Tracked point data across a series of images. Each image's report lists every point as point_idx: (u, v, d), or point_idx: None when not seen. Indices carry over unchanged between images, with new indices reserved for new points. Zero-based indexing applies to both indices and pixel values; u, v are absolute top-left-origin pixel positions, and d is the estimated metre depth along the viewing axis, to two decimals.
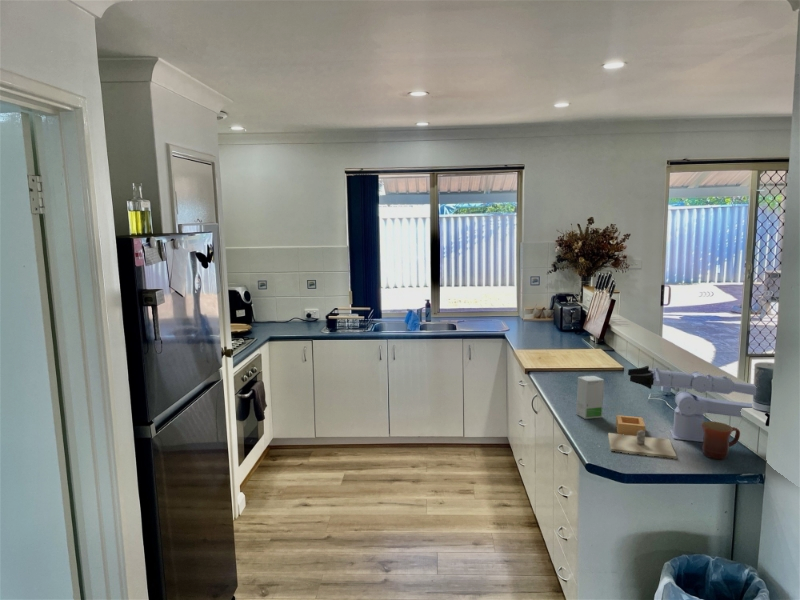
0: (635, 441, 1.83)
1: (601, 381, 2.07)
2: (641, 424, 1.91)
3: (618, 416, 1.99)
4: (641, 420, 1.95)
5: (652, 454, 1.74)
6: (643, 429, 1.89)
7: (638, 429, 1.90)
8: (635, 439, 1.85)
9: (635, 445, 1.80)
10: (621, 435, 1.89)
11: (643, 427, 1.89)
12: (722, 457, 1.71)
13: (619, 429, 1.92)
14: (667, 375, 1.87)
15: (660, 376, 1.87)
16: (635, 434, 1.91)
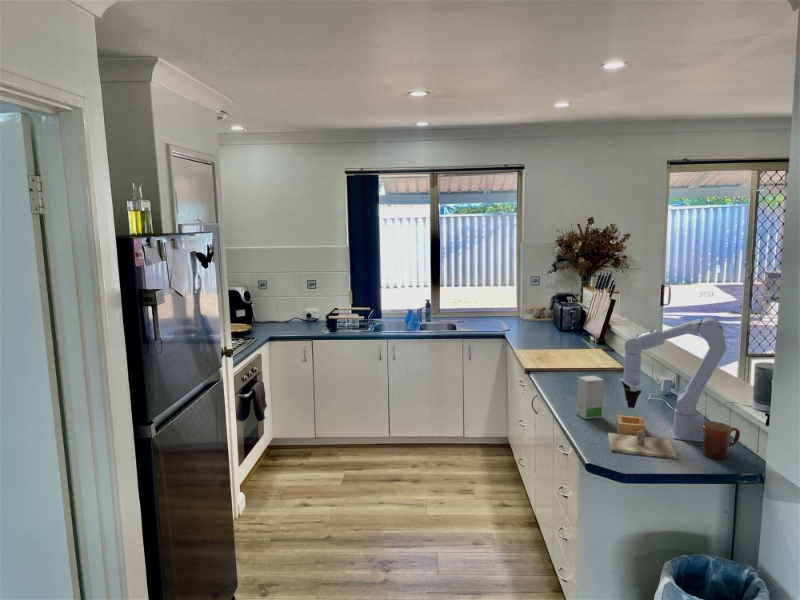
0: (635, 441, 1.83)
1: (601, 381, 2.07)
2: (641, 424, 1.91)
3: (618, 416, 1.99)
4: (641, 420, 1.95)
5: (652, 454, 1.74)
6: (643, 429, 1.89)
7: (638, 429, 1.90)
8: (635, 439, 1.85)
9: (635, 445, 1.80)
10: (621, 435, 1.89)
11: (643, 427, 1.89)
12: (722, 457, 1.71)
13: (619, 429, 1.92)
14: (627, 373, 1.94)
15: (628, 380, 1.94)
16: (635, 434, 1.91)
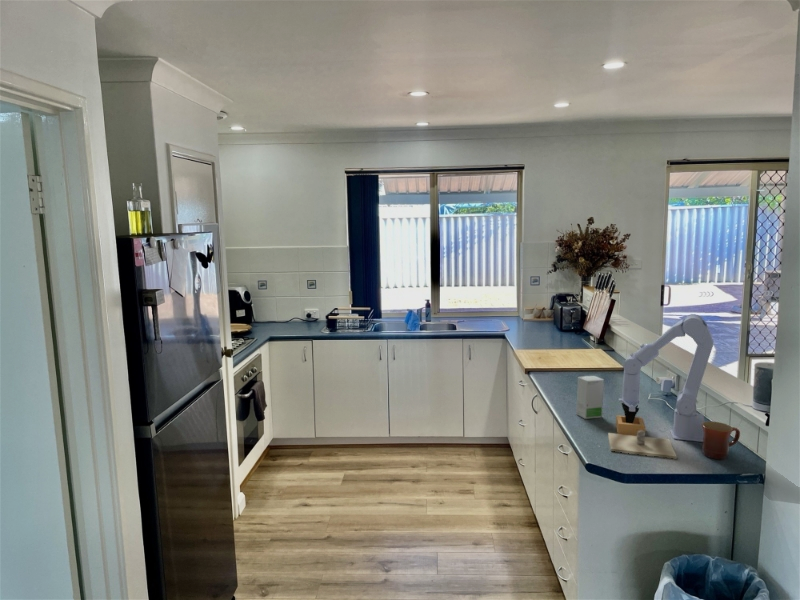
0: (635, 441, 1.83)
1: (601, 381, 2.06)
2: (641, 424, 1.91)
3: (618, 416, 1.99)
4: (641, 420, 1.95)
5: (652, 454, 1.74)
6: (643, 429, 1.89)
7: (638, 429, 1.90)
8: (635, 439, 1.85)
9: (635, 445, 1.80)
10: (621, 435, 1.89)
11: (643, 427, 1.89)
12: (722, 457, 1.71)
13: (619, 429, 1.92)
14: (626, 393, 1.95)
15: (626, 399, 1.95)
16: (635, 434, 1.91)
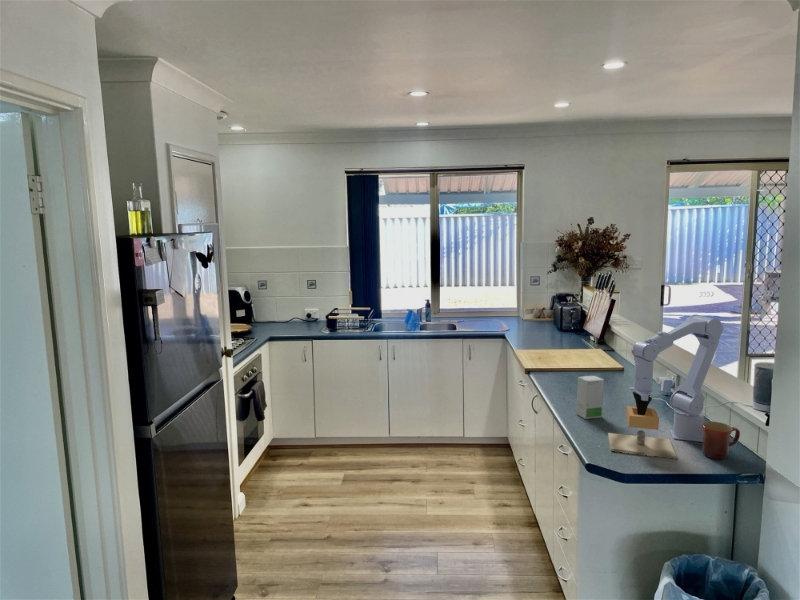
0: (635, 441, 1.83)
1: (601, 381, 2.07)
2: (654, 416, 1.76)
3: (629, 407, 1.84)
4: (654, 411, 1.80)
5: (652, 454, 1.74)
6: (656, 421, 1.74)
7: (651, 421, 1.75)
8: (635, 439, 1.85)
9: (635, 445, 1.80)
10: (621, 435, 1.89)
11: (656, 419, 1.74)
12: (722, 457, 1.71)
13: (630, 422, 1.77)
14: (637, 381, 1.80)
15: (638, 388, 1.80)
16: (648, 427, 1.76)
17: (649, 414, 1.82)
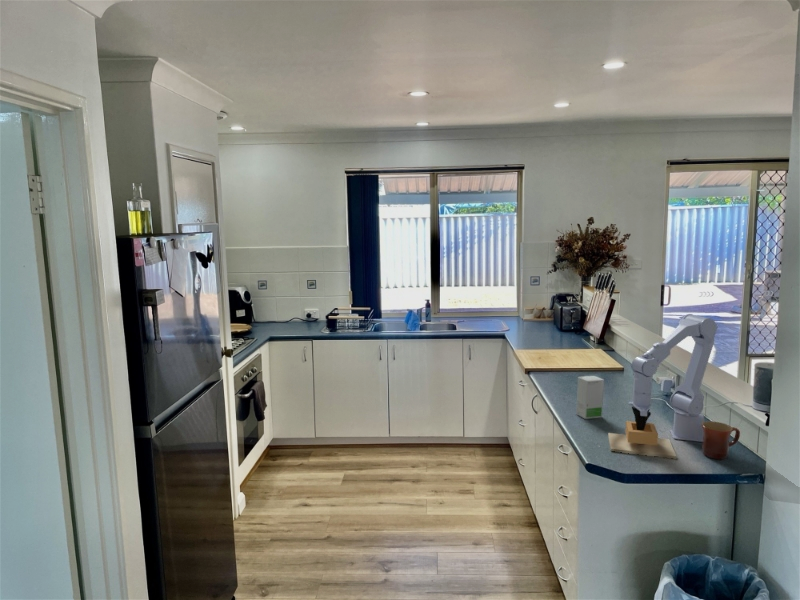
0: None
1: (601, 381, 2.07)
2: (653, 432, 1.77)
3: (628, 422, 1.84)
4: (653, 427, 1.80)
5: (652, 454, 1.74)
6: (655, 437, 1.75)
7: (650, 437, 1.76)
8: None
9: (635, 445, 1.80)
10: (621, 435, 1.89)
11: (655, 435, 1.75)
12: (722, 457, 1.71)
13: (629, 437, 1.78)
14: (636, 396, 1.81)
15: (637, 403, 1.81)
16: (647, 442, 1.76)
17: (648, 429, 1.83)
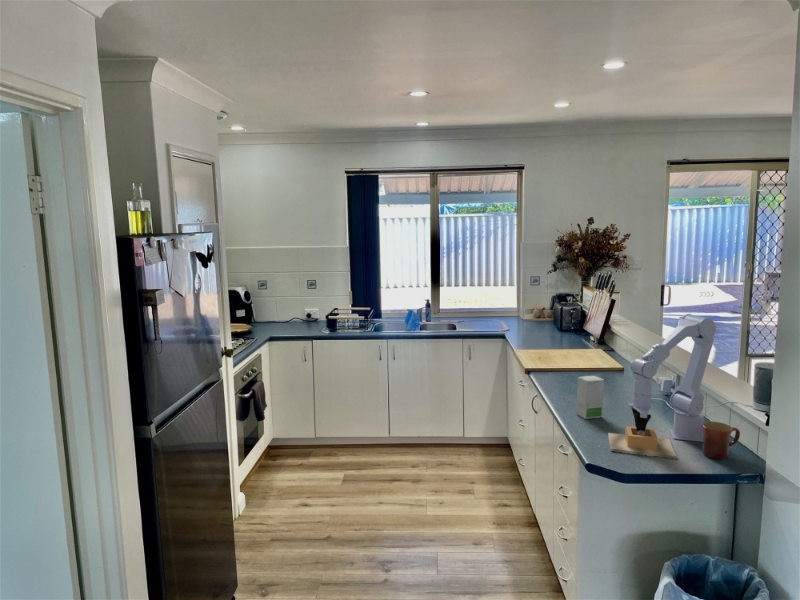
0: None
1: (601, 381, 2.06)
2: (653, 436, 1.77)
3: (627, 427, 1.85)
4: (652, 432, 1.81)
5: (652, 454, 1.74)
6: (655, 442, 1.76)
7: (650, 442, 1.77)
8: None
9: None
10: (621, 435, 1.89)
11: (655, 440, 1.76)
12: (722, 457, 1.71)
13: (629, 442, 1.79)
14: (636, 398, 1.81)
15: (637, 405, 1.81)
16: (646, 447, 1.77)
17: (648, 434, 1.84)
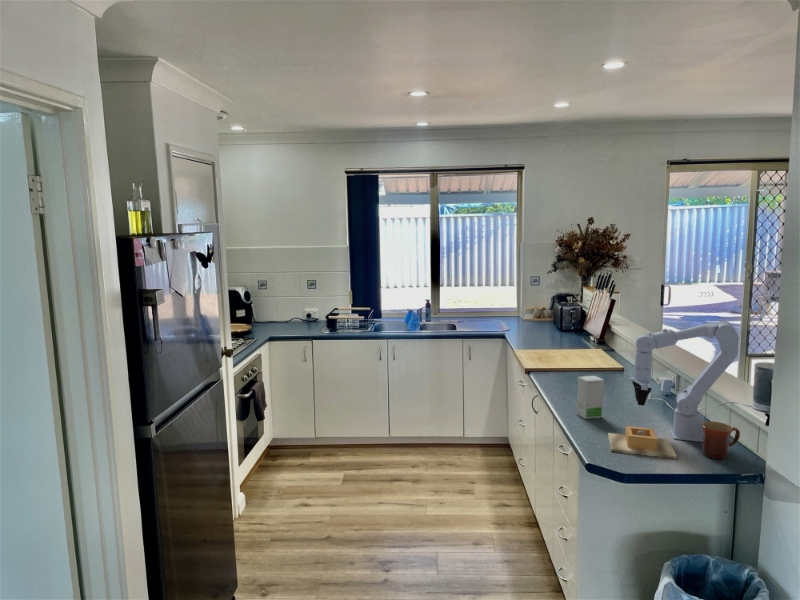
0: None
1: (601, 381, 2.07)
2: (653, 436, 1.77)
3: (627, 427, 1.85)
4: (652, 432, 1.81)
5: (652, 454, 1.74)
6: (655, 442, 1.76)
7: (650, 442, 1.77)
8: None
9: None
10: (621, 435, 1.89)
11: (655, 440, 1.76)
12: (722, 457, 1.71)
13: (629, 442, 1.79)
14: (638, 372, 1.91)
15: (638, 378, 1.91)
16: (646, 447, 1.77)
17: (648, 434, 1.84)
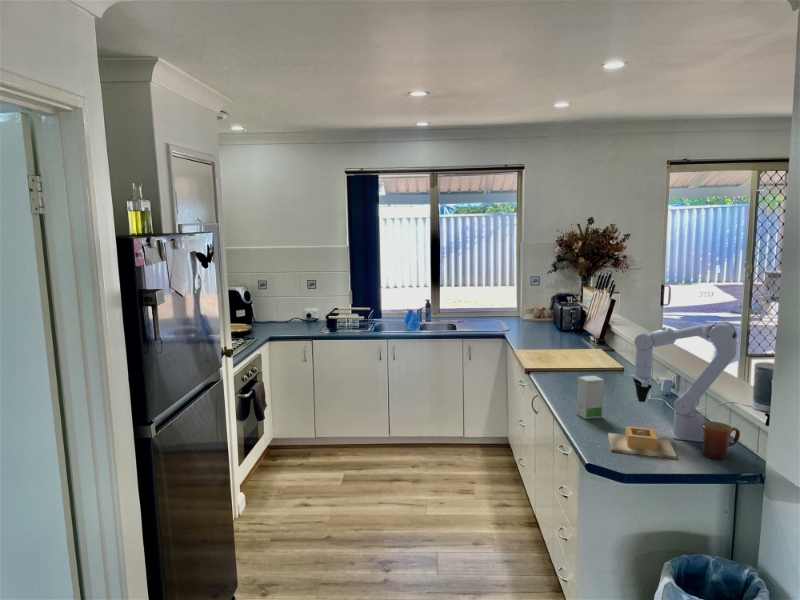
0: None
1: (601, 381, 2.07)
2: (653, 436, 1.77)
3: (627, 427, 1.85)
4: (652, 432, 1.81)
5: (652, 454, 1.74)
6: (655, 442, 1.76)
7: (650, 442, 1.77)
8: None
9: None
10: (621, 435, 1.89)
11: (655, 440, 1.76)
12: (722, 457, 1.71)
13: (629, 442, 1.79)
14: (638, 369, 1.95)
15: (639, 375, 1.95)
16: (646, 447, 1.77)
17: (648, 434, 1.84)
